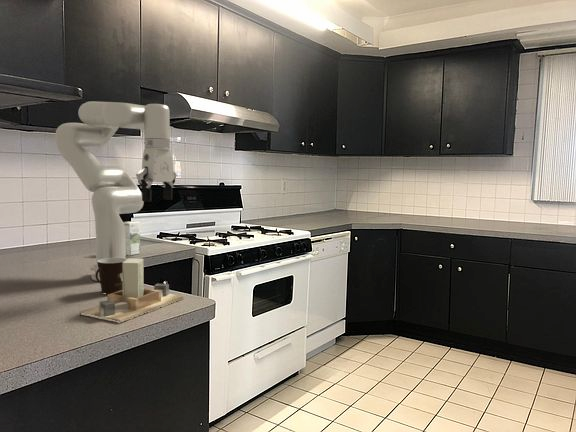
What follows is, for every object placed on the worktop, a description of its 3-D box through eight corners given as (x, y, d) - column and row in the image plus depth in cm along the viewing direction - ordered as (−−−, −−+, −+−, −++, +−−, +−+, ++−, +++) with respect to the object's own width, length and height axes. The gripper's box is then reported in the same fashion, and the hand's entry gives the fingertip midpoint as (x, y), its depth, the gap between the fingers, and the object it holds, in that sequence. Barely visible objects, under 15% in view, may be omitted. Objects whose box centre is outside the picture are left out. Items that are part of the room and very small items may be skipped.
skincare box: (128, 300, 134) (127, 257, 133) (144, 300, 135) (144, 258, 133) (122, 306, 128) (121, 262, 127) (138, 306, 128) (138, 262, 127)
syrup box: (132, 252, 213) (131, 220, 211) (140, 254, 209) (140, 221, 208) (121, 254, 208) (120, 221, 207) (130, 256, 205) (129, 222, 203)
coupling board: (79, 315, 123) (79, 300, 123) (146, 293, 146) (146, 280, 145) (120, 323, 117) (120, 307, 117) (183, 299, 140) (183, 286, 139)
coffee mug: (118, 287, 152) (117, 256, 151) (133, 292, 147) (132, 260, 146) (83, 294, 143) (82, 261, 142) (97, 299, 138) (97, 265, 137)
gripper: (147, 143, 137) (147, 202, 138) (184, 146, 152) (184, 199, 154) (127, 143, 140) (128, 201, 142) (165, 146, 155) (166, 198, 157)
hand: (157, 200), depth 148 cm, fingers open, 9 cm apart
